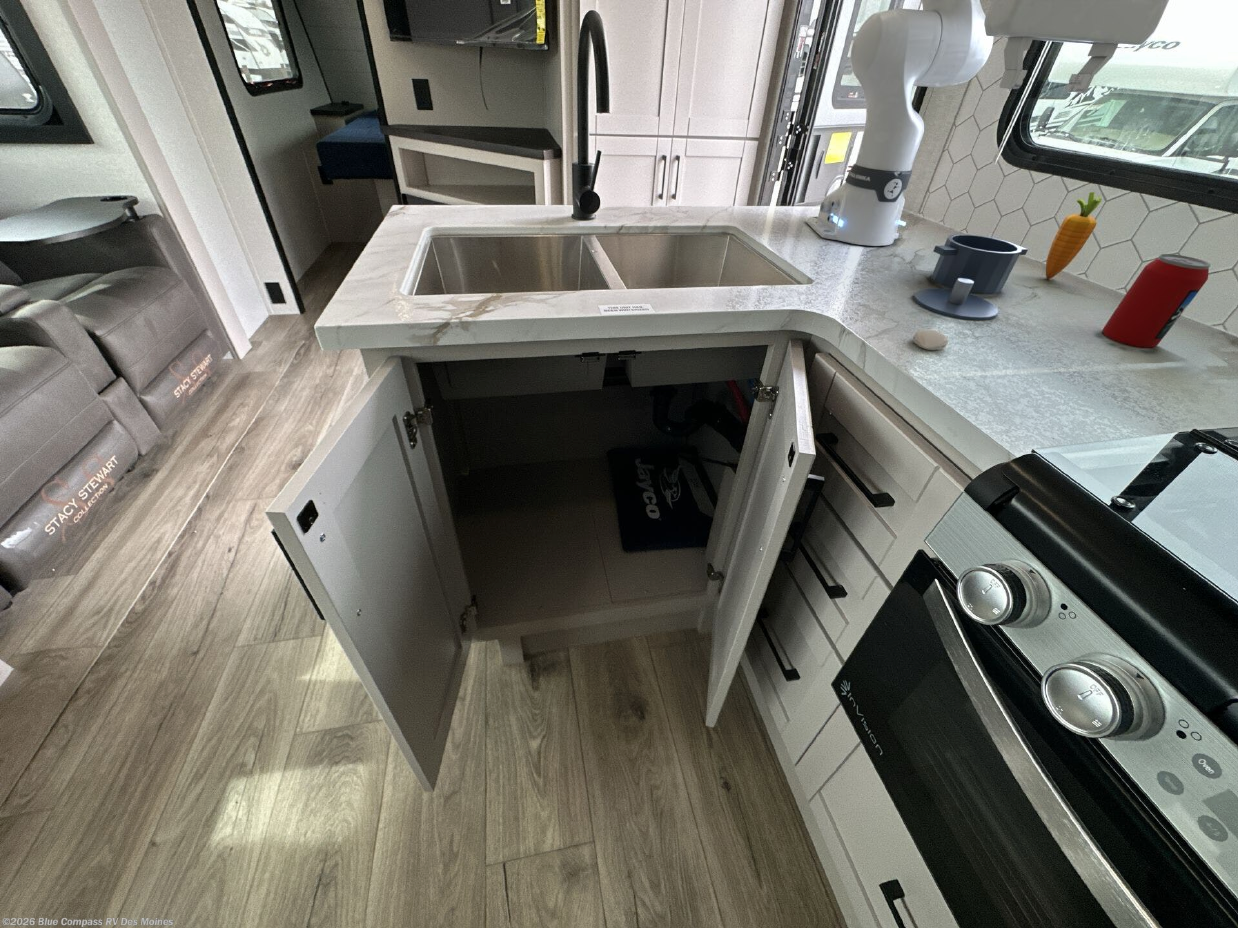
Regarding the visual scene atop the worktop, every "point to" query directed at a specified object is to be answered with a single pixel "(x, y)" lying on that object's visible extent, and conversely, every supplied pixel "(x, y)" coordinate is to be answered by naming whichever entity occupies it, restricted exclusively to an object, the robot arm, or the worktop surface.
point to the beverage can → (1156, 300)
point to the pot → (976, 262)
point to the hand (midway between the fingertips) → (1042, 90)
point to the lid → (956, 302)
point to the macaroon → (930, 339)
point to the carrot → (1071, 237)
